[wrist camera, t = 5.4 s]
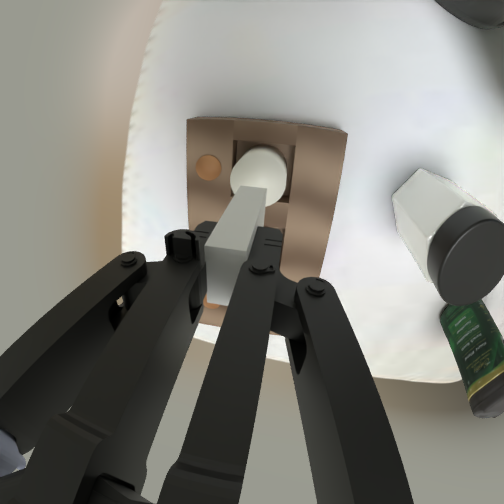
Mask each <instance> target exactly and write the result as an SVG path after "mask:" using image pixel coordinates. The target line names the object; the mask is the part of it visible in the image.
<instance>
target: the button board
mask: <svg viewBox="0 0 504 504" xmlns="http://www.w3.org/2000/svg"><path fill="white" fill-rule="evenodd" d="M347 136H348V134H347V133H346V132H344V131H342V130H338V129H333V128H327V127H321V126H314V125H307V124H300V123H292V122H283V121H273V120H262V119H248V118H229V117H195V118H190V119H187V198H188V222H189V230H192V231H194V230H195V228H196V227H197V225H198V224H200V223H202V222H204V221H214V222H218V221H219V220H220V218H221V216H222V215H223V213H224V211H225V210H226V208H227V206H228V205H229V203H230V202H231V200H232V198H233V197H234V195H235V194H234V193H233V190H232V188H231V184H230V176H231V172H232V169H233V168H234V166H235V165H236V163H237V162H238V161H239V160H240V159H241V158H242V156H243V155H244V154H245V153H246V152H247V151H248V150H249V149H250V148H252V147H254V146H256V145H261V144H266V145H271V146H273V147H275V148H277V149H278V150H280V151H281V152H282V154H283V155H284V157H285V159H286V162H287V178H286V187H285V191H284V193H283V195H282V196H281V198H280V199H279V200H278V201H277V202H275V203H274V204H272V205H270V206H267V207H265V216H264V227H268V228H276V229H279V230H280V231H281V233H282V234H283V238H282V246H281V254H280V262H279V270H280V272H281V273H282V274H283V275H284V276H285V277H286V278H288V279H290V280H292V281H294V282H297V283H298V282H299V280H301V279H303V278H306V277H319V276H320V272H321V268H322V264H323V260H324V256H325V251H326V247H327V243H328V238H329V234H330V229H331V225H332V220H333V215H334V210H335V205H336V200H337V195H338V190H339V184H340V179H341V173H342V167H343V161H344V155H345V149H346V142H347ZM203 304H204V309H203V313H202V316H201V318H200V321H199V323H202V324H207V325H213V326H219V327H221V326H222V323H223V320H224V317H225V314H226V310H227V307H228V306H225V305H219V304H214V303H208V302H207V293H206V295H205V298H204V300H203ZM270 334H272V335H279V334H277V333H274V332H272V331H270Z"/></svg>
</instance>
